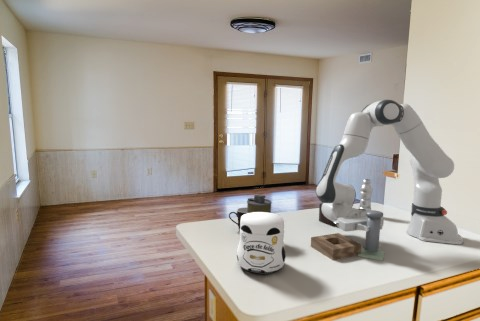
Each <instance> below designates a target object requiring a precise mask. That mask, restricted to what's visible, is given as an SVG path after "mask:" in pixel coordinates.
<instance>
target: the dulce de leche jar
mask: <svg viewBox="0 0 480 321" xmlns="http://www.w3.org/2000/svg"><path fill="white" fill-rule="evenodd" d="M284 235H285V219H284V218H283V216H281V215H279V214H276V213H273V212H271V213H268V212H252V213H247V214H244V215H242V216H241V220H240V232H239V241H238V246H237V250H236V259H237V263H238V265H239V266H240V268H242V269H243V270H244V271H247V272H251V273H253V274H271V273H276V272H278V271H279V270H280V269H282V268H283V267H284V264H285V261H286V249H285V244H284V238H285V236H284Z"/></svg>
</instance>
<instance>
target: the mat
mask: <svg viewBox="0 0 480 321" xmlns="http://www.w3.org/2000/svg"><path fill="white" fill-rule="evenodd" d="M384 256H385V251H383V250H379V249H378V252H369V251H366V250H365V247H362V248H361V254H358V255H357V257H361V258H367V259H369V260H370V259H371V260H374V261H375V260H376V261H382V262H383V261H384Z"/></svg>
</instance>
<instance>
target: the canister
mask: <svg viewBox="0 0 480 321" xmlns="http://www.w3.org/2000/svg"><path fill="white" fill-rule="evenodd" d="M266 197H267V196H266V195H263V194H261V193H259V194H254V198H253V197H250V198H247V201H246V204H247V207H246V208H247V213H252V212H268V213H272V203H273V202H272V200H271V199H267V198H266Z"/></svg>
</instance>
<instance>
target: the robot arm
mask: <svg viewBox="0 0 480 321" xmlns="http://www.w3.org/2000/svg"><path fill="white" fill-rule="evenodd" d="M386 125H388V126H389V125H391V126H392V127H393V128H394V131H395V132H396V134H397V135H398V137H399V138H400V140H401V142H402V145H403V146H404V147H405V148H406V149H407V150H408V151H409V153H410V154H411V156H410V158H409V162H410V166H411V168H412V176H413V184H414V188H413V189H414V190H413V191H414V192H413V200H412V204H411V209H410V221H409V225H408V227H407V229H406V233H407V234H408V235H410V236H411V237H415V238H417V239H419V240H421V241H423V242H432V243H440V244H448V245H449V244H450V245H451V244H452V245H462V244H464V238H463V237H462V235H460V234H459V232H458V227H457V225H456V224H455V223H454V222H453V221H452V220H451V219H449V218H448V217H447V216H446V215H447V214H448V211H447V210H446V209H445V208H444V206H441V204H442V203H441V202H442V196H443V194H442V192H443V190H442V189H443V188H442V185H441V184H440V179H443V178H448V177H449V176H451V175H452V174H453V172H454V170H455V163H454V161H453V159H452V158H451V157H450V156H449V155H448V154H446V152H444V150H443V149H442V147H441V146H440V145H439V144H438V143H437V142H436V141H435V140H434V139H433V137H432V135H431V134H430V132H429V131H428V129H427V127H426V126H425V125H424V123H423V121H422V120H421V117H420V116H419V115H418V114H417V112H416V111H415V110H414V108H413V107H412V106H411V105H409V104H408V103H401V104H400V103H398V102H396V101H395V100H392V99H383V100H377V101H375V102H373V103H369V104H367V105H365V107H364V108H363V109H362V110H360V111H356V112H353V113H351V115H350V116H349V118H348V119H347V122H346V124H345V127H344V131H343V135H342V137H341V139H340V142H339V143H338V144H337V145H335V146H334V148H333V150H332V151H331V154H330V155H329V158H328V161H327V163H326V166H325V168H324V171H323V174H322V176H321V178H320V180H319V182H317V185H316V187H315V194H316V197H317V199H318V201H320V202H321V203H323V204H322V208H321V210H322V213H323V215H324V216H325V217H326V218H328V219H329V220H331V221H333V223H335V224H337V226H336V227H337V228H338V229H341V230H342V231H344V232H353V231H362V232H363V231H364V232H365V233H366V232H368V231H370V227H369V226H367V216H366V211H367V210H366V209H359V208H355V207H353V206H354V204H355V201H356V198H357V193H356V192H357V191H356V189H355V188H354V186H353V185H352V184H349V183H344V182H338V181H336V178H337V176H338V174H339V171H340V168H341V166H342V164H343V163H344V162H345V161H347V160H349V159H353V158H357V157H359V156H361V155H363V154H364V153H365V152H366V150H367V148H368V145H369V140H370V137H371V136H370V135H371V133H372V130H373V129H374V127H384V126H386ZM383 226H384V216H383V217H382V218H381V224H380V230H383Z"/></svg>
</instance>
